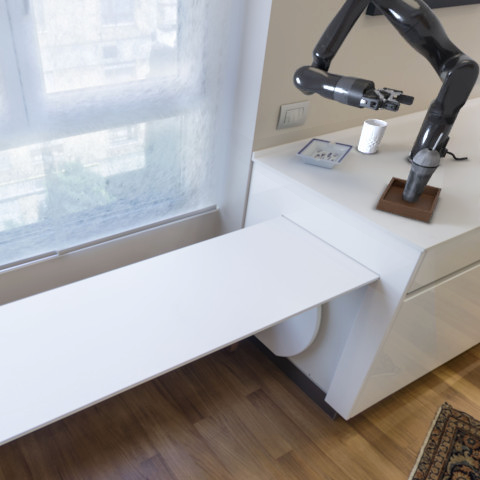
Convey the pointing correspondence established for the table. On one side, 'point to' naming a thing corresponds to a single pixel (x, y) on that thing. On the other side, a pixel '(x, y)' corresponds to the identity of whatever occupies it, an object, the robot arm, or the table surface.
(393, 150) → the table surface
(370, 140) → the white cup
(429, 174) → the beverage cup
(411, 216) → the tray
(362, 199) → the table surface
